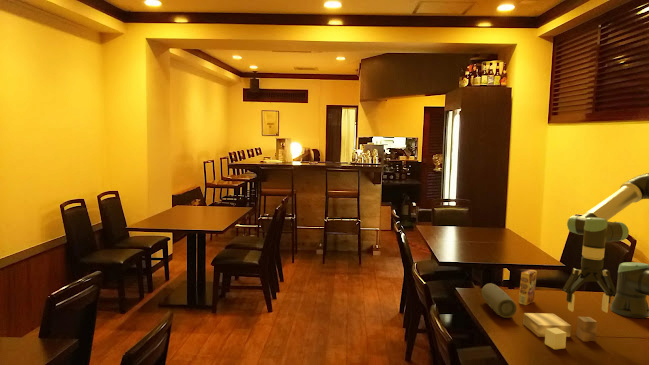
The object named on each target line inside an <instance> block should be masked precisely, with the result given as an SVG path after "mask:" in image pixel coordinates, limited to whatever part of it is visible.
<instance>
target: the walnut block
mask: <svg viewBox="0 0 649 365" xmlns="http://www.w3.org/2000/svg"><path fill="white" fill-rule="evenodd" d="M597 331H598V321H597V320H596V319H593V318H592V317H591V316H577V320H576V332H575V337H577V338H578V339H579V340H581V341H582V342H589V341H594V342H595V341H596V342H597Z"/></svg>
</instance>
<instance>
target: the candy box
mask: <svg viewBox="0 0 649 365" xmlns="http://www.w3.org/2000/svg"><path fill="white" fill-rule="evenodd" d="M537 274H538V271H537V270H534V269H526V270H524V271H522V272H521V274H520V280H519V281H520V284H519V293H518V304H520V305H523V306H528V305H529V304H531V303H534V302H535V292H536V284H537Z"/></svg>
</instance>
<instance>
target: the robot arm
mask: <svg viewBox="0 0 649 365" xmlns="http://www.w3.org/2000/svg"><path fill="white" fill-rule="evenodd" d="M643 200H649V172H646V173H643V174H640V175H636V176H634V177H632V178H630V179H629V180H627V181H625V182H624V183H622V184H621V185H620V186H619V189H618V190H616V191H615V192H614V193H612V194H610V195H609V196H608V197H606V198H604V199H603V200H602V201H600V202H599V203H598V204H596V205H595V206H593V207H592V208H591V209H589V210H587V211H586V212H585V213H583V214H582V215H571V216H570V217H569V218H568V220H567V223H566V226H567V229H568V231H569V232H570V233H573V234H576V235H580V236H583V238H582V239H583V240H582V241H583V242H582V248H581V249H582V250H581V251H582V252H581V255H582V256H581V260H580V267H581V268H580V269H577V268H575V267H573V268H572V269H571V270H572V271H571V274H570V275H569V278H568V279H567V280H566V282H565V283H564V286H563V288H562V289H561V290H562V291H563V293H566V301H567V302H568V303H567V309H568V310H569V311H570V312H574V310H575V309H574V307H575V296H576V295H575V294H574V293H575V292H576V291H577V290H579V288H580V287H581V286H582V285H583V284H584V283H586V282H588V283H589V282H593V283H594V282H595V283H597V284H598V285H599V287H600V288H601V289H602V291H603V292H604V293H603V294H602V299H601V300H602V301H601V311H602V312H604V313H609V312H608V310H609V304H610V311H612V312H613V313H615V314H617V315H620V316H624V317H627V318H628V317H629V318H633V319H634V318H635V319H646V318H647V319H648V318H649V304H648V300H647V296H648V297H649V264H648V263H643V262H635V261H634V262H629V261H628V262H622V263H619V265H618V270H617V280H616V287H615V285H614V282H613V280H612V278H611V271H610V270H608V269H603V268H604V261H605V260H604V258H605V250H606V243H608V242H609V243H610V242H617V243H618V242H622V241H625V240H626V239H627V238H628V237H629V232H630V231H629V228H628V226H627V225H626V224H625V223H623V222H622V221H609V220H610V219H612V218H613V217H615V216H616V215H618V213H620V212H621V211H623V210H624V209H626V208H627V207H629V206H630V205H631V204H633V203H635V204H636V203H638V202H640V201H643ZM602 276H603V278H604V281H605V282H604V281H603V278H602ZM605 283H606V284H605ZM614 295H615V296H614ZM613 296H614V298H613V299H611V298H612V297H613ZM611 300H612V302H611Z"/></svg>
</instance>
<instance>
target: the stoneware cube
mask: <svg viewBox="0 0 649 365" xmlns="http://www.w3.org/2000/svg"><path fill="white" fill-rule="evenodd" d="M566 344H567V337H566V332H564V331H562V330H560V329H558V328H548V329H546V332H545V337H544V345H546V346H547V347H550V348H551V349H553V350H561V349H566Z"/></svg>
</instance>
